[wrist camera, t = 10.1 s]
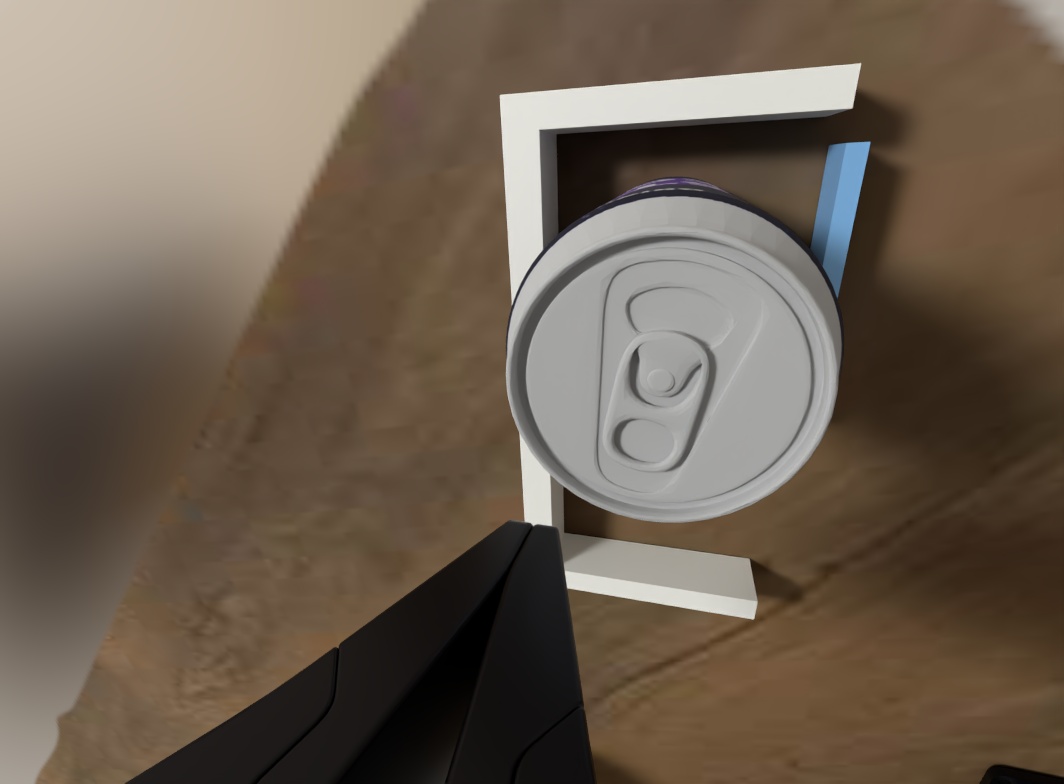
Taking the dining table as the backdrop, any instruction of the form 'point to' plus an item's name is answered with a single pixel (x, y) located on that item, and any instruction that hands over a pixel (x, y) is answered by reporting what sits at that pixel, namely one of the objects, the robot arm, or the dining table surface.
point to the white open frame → (535, 225)
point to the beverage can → (674, 353)
